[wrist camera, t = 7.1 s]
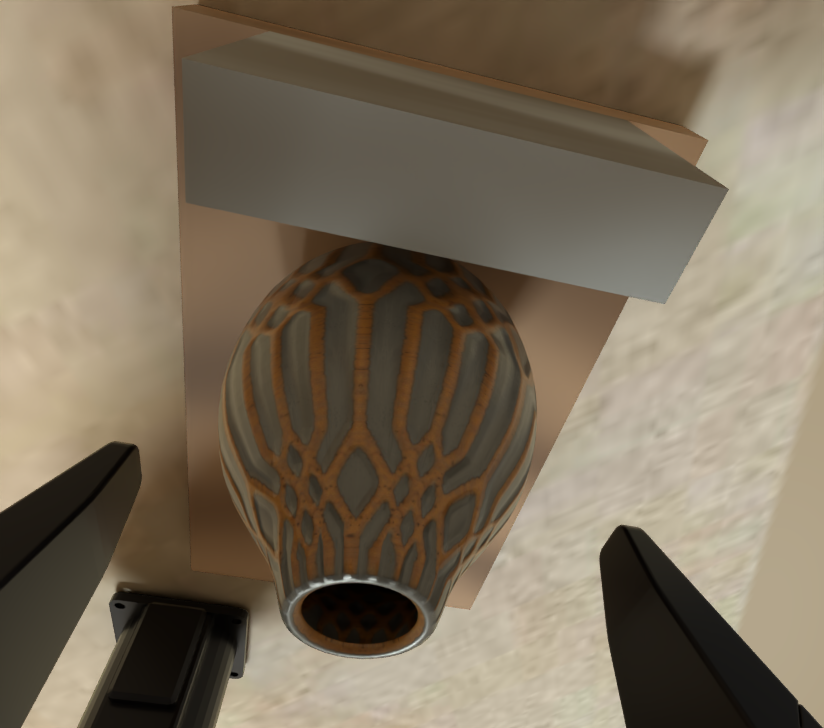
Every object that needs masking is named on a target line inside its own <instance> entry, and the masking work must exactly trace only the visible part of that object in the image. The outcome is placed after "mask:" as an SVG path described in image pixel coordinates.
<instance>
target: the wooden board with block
mask: <svg viewBox="0 0 824 728" xmlns="http://www.w3.org/2000/svg"><path fill="white" fill-rule="evenodd" d="M172 24H173V53H174V83H175V112H176V141H177V170H178V199H179V228H180V257H181V287H182V316H183V345H184V374H185V403H186V432H187V461H188V491H189V520H190V549H191V570H192V571H199V572H207V573H214V574H221V575H228V576H235V577H242V578H249V579H256V580H263V581H270V582H274V579H273V576H272V573H271V570H270V567H269V565H268V563H267V561H266V559H265V557H264V556H263V554H262V553H261V551H260V549H259V548H258V546H257V545H256V543H255V541H254V539H253V538H252V536H251V534H250V532H249V531H248V529H247V527H246V525H245V524H244V522H243V520H242V518H241V516H240V515H239V513H238V511H237V509H236V507H235V505H234V503H233V501H232V498H231V496H230V493H229V491H228V488H227V485H226V482H225V479H224V475H223V470H222V465H221V460H220V454H219V441H218V416H219V403H220V395H221V388H222V384H223V380H224V376H225V372H226V368H227V364H228V361H229V359H230V356H231V354H232V351H233V349H234V347H235V344H236V342H237V340H238V338H239V336H240V334H241V332H242V331H243V329H244V327H245V326H246V324H247V322H248V321H249V319H250V317H251V316H252V314H253V313H254V311H255V310H256V309H257V307H258V306H259V305H260V304H261V302H262V301H263V300H264V298H265V297H266V296H267V294H268V293H269V292H270V291H271V290H272V289H273V288H274V287H275V286H276V285H277V284H278V283H279V282H281V281H282V280H283V279H284V278H285V277H287V276H288V275H289V274H290V273H292V272H293V271H294V270H296V269H297V268H299V267H300V266H302V265H303V264H305V263H307V262H308V261H310V260H312V259H314V258H316V257H318V256H320V255H322V254H325V253H327V252H329V251H332V250H334V249H337V248H341V247H344V246H348V245H352V244H358V243H364V242H374V243H378V244H383V245H388V246H393V247H397V248H402V249H407V250H411V251H416V252H421V253H426V254H430V255H435V256H440V257H444V258H449V259H452V260H453V261H455V262H457V263H458V264H460V265H461V266H463V267H464V268H466V269H467V270H468V271H470V272H471V273H472V274H473V275H475V276H476V277H477V278H478V279H480V280H481V281H482V282H483V283H484V284H485V285H486V286H487V287H488V288H489V289H490V291H491V292H492V293H493V294H494V295H495V296H496V298H497V299H498V300H499V301H500V303H501V304H502V305H503V307H504V308H505V309H506V311H507V312H508V314H509V316H510V317H511V319H512V321H513V323H514V325H515V327H516V329H517V331H518V333H519V335H520V338H521V340H522V342H523V345H524V348H525V350H526V353H527V357H528V360H529V363H530V366H531V370H532V375H533V379H534V384H535V391H536V401H537V428H536V440H535V446H534V452H533V457H532V462H531V466H530V470H529V474H528V477H527V481H526V484H525V486H524V489H523V491H522V494H521V496H520V499H519V501H518V503H517V505H516V507H515V509H514V511H513V512H512V514H511V516H510V518H509V519H508V521H507V522H506V524H505V525H504V527H503V528H502V529H501V530H500V532H499V533H498V534H497V536H496V537H495V538H494V539H493V541H492V542H491V543H490V544H489V545H488V547H487V548H486V549H485V550H484V551H483V553H482V554H481V555H480V556H479V557H478V558H477V560H476V561H475V562H474V563H473V564H472V565H471V566H470V567H469V568H468V570H467V571H466V572H465V573H464V574H463V575H462V576H461V578H460V579H459V580H458V581H457V583H456V585H455V586H454V588H453V590H452V592H451V593H450V596H449V598H448V600H447V603H446V605H445V606H448V607H455V608H462V609H469V610H470V608H471V607H472V605H473V603H474V601H475V599H476V597H477V595H478V593H479V591H480V589H481V587H482V585H483V583H484V581H485V579H486V577H487V575H488V573H489V571H490V569H491V567H492V565H493V563H494V561H495V559H496V557H497V555H498V553H499V551H500V549H501V547H502V545H503V544H504V542H505V540H506V538H507V536H508V534H509V532H510V530H511V528H512V526H513V524H514V522H515V520H516V518H517V516H518V514H519V512H520V510H521V508H522V506H523V504H524V502H525V500H526V498H527V496H528V494H529V492H530V490H531V488H532V486H533V484H534V482H535V481H536V479H537V477H538V475H539V473H540V471H541V469H542V467H543V465H544V463H545V461H546V459H547V457H548V455H549V453H550V451H551V449H552V447H553V445H554V443H555V441H556V439H557V437H558V435H559V433H560V431H561V429H562V427H563V425H564V423H565V421H566V419H567V418H568V416H569V414H570V412H571V410H572V408H573V406H574V404H575V402H576V400H577V398H578V396H579V394H580V392H581V390H582V388H583V386H584V384H585V382H586V380H587V378H588V376H589V374H590V372H591V370H592V368H593V366H594V364H595V362H596V360H597V358H598V356H599V355H600V353H601V351H602V349H603V347H604V345H605V343H606V341H607V339H608V337H609V335H610V333H611V331H612V329H613V327H614V325H615V323H616V321H617V319H618V317H619V315H620V313H621V311H622V309H623V307H624V305H625V303H626V301H627V299H628V297H633V298H638V299H643V300H647V301H652V302H657V303H662V304H665V303H666V301H667V299H668V298H669V296H670V294H671V292H672V291H673V289H674V287H675V285H676V283H677V282H678V280H679V278H680V276H681V274H682V273H683V271H684V269H685V267H686V265H687V264H688V262H689V260H690V258H691V256H692V255H693V253H694V251H695V249H696V247H697V246H698V244H699V242H700V240H701V238H702V237H703V235H704V233H705V231H706V229H707V228H708V226H709V224H710V222H711V220H712V219H713V217H714V215H715V213H716V211H717V210H718V208H719V206H720V204H721V202H722V201H723V199H724V197H725V195H726V193H727V192H728V190H729V189H728V188H726V187H725V186H723V185H722V184H720V183H719V182H717V181H716V180H714V179H713V178H711V177H710V176H708V175H707V174H706V173H704V172H703V171H701V170H700V169H698V168H697V167H695V166H696V164H697V162H698V160H699V158H700V156H701V154H702V152H703V150H704V148H705V146H706V144H707V142H708V140H707V139H705V138H703V137H701V136H699V135H698V134H696V133H694V132H692V131H690V130H689V129H687V128H685V127H683V126H680V125H676V124H672V123H668V122H664V121H660V120H656V119H652V118H648V117H644V116H640V115H636V114H632V113H628V112H624V111H620V110H616V109H612V108H608V107H604V106H600V105H596V104H592V103H588V102H584V101H580V100H576V99H572V98H568V97H564V96H560V95H556V94H552V93H548V92H544V91H540V90H536V89H532V88H528V87H524V86H520V85H516V84H512V83H508V82H504V81H500V80H496V79H492V78H488V77H484V76H480V75H476V74H472V73H468V72H464V71H460V70H456V69H453V68H449V67H445V66H441V65H437V64H433V63H429V62H425V61H421V60H417V59H413V58H409V57H405V56H401V55H397V54H393V53H389V52H385V51H381V50H377V49H373V48H369V47H365V46H361V45H357V44H353V43H349V42H345V41H341V40H337V39H333V38H329V37H325V36H321V35H317V34H313V33H309V32H305V31H301V30H297V29H293V28H289V27H285V26H281V25H277V24H273V23H269V22H265V21H261V20H257V19H253V18H249V17H245V16H241V15H237V14H233V13H229V12H225V11H221V10H217V9H213V8H209V7H205V6H201V5H186V6H175V7H172Z"/></svg>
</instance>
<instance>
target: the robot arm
mask: <svg viewBox="0 0 824 728" xmlns="http://www.w3.org/2000/svg"><path fill="white" fill-rule="evenodd" d="M141 479H142V474H141V464H140V455H139V449H138V447H137V446H136V445H134V444H130V443H123V442H117V441H114V442H111V443H108V444H107V445H105V446H104V447H102V448H100V449H99V450H97V451H96V452H94V453H93V454H91V455H90V456H88V457H86V458H85V459H83V460H82V461H80V462H79V463H77V464H75V465H74V466H72V467H71V468H69V469H68V470H66V471H65V472H63V473H61V474H60V475H58V476H57V477H55V478H54V479H52V480H50V481H49V482H47V483H46V484H44V485H43V486H41V487H39V488H38V489H36V490H35V491H33V492H32V493H30V494H29V495H27V496H25V497H24V498H22V499H21V500H19V501H18V502H16V503H14V504H13V505H11V506H10V507H8V508H7V509H5V510H4V511H2V512H0V728H21V726H22V725H23V723H24V721H25V719H26V717H27V715H28V714H29V712H30V710H31V708H32V706H33V704H34V702H35V701H36V699H37V697H38V695H39V693H40V691H41V690H42V688H43V686H44V684H45V682H46V680H47V679H48V677H49V675H50V673H51V671H52V669H53V667H54V666H55V664H56V662H57V660H58V658H59V656H60V655H61V653H62V651H63V649H64V647H65V645H66V644H67V642H68V640H69V638H70V636H71V634H72V632H73V631H74V629H75V627H76V625H77V623H78V621H79V620H80V618H81V616H82V614H83V612H84V610H85V609H86V607H87V605H88V603H89V601H90V599H91V597H92V596H93V594H94V592H95V590H96V588H97V586H98V585H99V583H100V581H101V579H102V577H103V575H104V573H105V571H106V569H107V567H108V564H109V562H110V560H111V557H112V555H113V553H114V550H115V548H116V545H117V543H118V540H119V538H120V535H121V533H122V530H123V528H124V526H125V523H126V521H127V518H128V516H129V513H130V511H131V508H132V506H133V503H134V501H135V498H136V496H137V493H138V491H139V488H140V485H141ZM600 571H601V581H602V591H603V600H604V610H605V619H606V628H607V636H608V642H609V647H610V653H611V657H612V662H613V667H614V672H615V676H616V681H617V686H618V691H619V696H620V700H621V705H622V710H623V715H624V719H625V724H626V728H822V726H821V725H820V724H819V723H818V722H817V721H816V720H815V719H814V718H813V717H812V715H811V714H810V713H809V712H808V711H807V710H806V709H805V708H804V707H803V706H802V705H801V704H798V700H797V699H796V698H795V697H794V696H793V695H792V694H791V693H790V691H789V690H788V689H787V688H786V687H785V686H784V685H783V684H782V683H781V682H780V680H779V679H778V678H777V677H776V676H775V675H774V674H773V673H772V672H771V670H770V669H769V668H768V667H767V666H766V665H765V664H764V663H763V662H762V661H761V659H760V658H759V657H758V656H757V655H756V654H755V653H754V652H753V651H752V649H751V648H750V647H749V646H748V645H747V644H746V643H745V642H744V641H743V639H742V638H741V637H740V636H739V635H738V634H737V633H736V632H735V631H734V630H733V628H732V627H731V626H730V625H729V624H728V623H727V622H726V621H725V620H724V619H723V617H722V616H721V615H720V614H719V613H718V612H717V611H716V610H715V609H714V608H713V606H712V605H711V604H710V603H709V602H708V601H707V600H706V599H705V598H704V596H703V595H702V594H701V593H700V592H699V591H698V590H697V589H696V588H695V587H694V585H693V584H692V583H691V582H690V581H689V580H688V579H687V578H686V577H685V576H684V574H683V573H682V572H681V571H680V570H679V569H678V568H677V567H676V566H675V564H674V563H673V562H672V561H671V560H670V559H669V558H668V557H667V556H666V555H665V553H664V552H663V551H662V550H661V549H660V548H659V547H658V546H657V545H656V544H655V542H654V541H653V540H652V539H651V538H650V537H649V536H648V535H647V534H646V533H645V532H644V531H643V530H642V529H641V528H638V527H634V526H627V525H620V526H618V527H617V528H616V529H615V530H614V532H613V533H612V535H611V536H610V537H609V539H608V540H607V542H606V543H605V545H604V546H603V548H602V550H601V552H600ZM109 607H110V612H111V617H112V622H113V627H114V632H115V638H116V645H115V648H114V650H113V652H112V654H111V656H110V658H109V660H108V663H107V665H106V667H105V669H104V671H103V673H102V675H101V678H100V680H99V682H98V684H97V686H96V688H95V690H94V693H93V695H92V697H91V699H90V701H89V703H88V705H87V707H86V710H85V712H84V714H83V716H82V718H81V720H80V722H79V725H78V727H77V728H215V726H216V723H217V719H218V716H219V712H220V709H221V705H222V702H223V698H224V694H225V691H226V687H227V684H228V680H229V678H233V679H238V678H241V677H242V676H243V673H244V670H245V661H246V648H247V635H248V622H249V613H248V612H247V611H246V610H244V609H241V608H235V607H227V606H220V605H212V604H205V603H198V602H190V601H183V600H175V599H168V598H160V597H153V596H146V595H138V594H131V593H123V592H118V593H115V594H114V595H113V596H112V598H111V600H110V602H109Z"/></svg>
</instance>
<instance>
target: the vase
mask: <svg viewBox="0 0 824 728" xmlns="http://www.w3.org/2000/svg"><path fill="white" fill-rule="evenodd" d="M536 428H537V401H536V391H535V384H534V379H533V375H532V370H531V366H530V363H529V360H528V357H527V353H526V350H525V348H524V345H523V342H522V340H521V338H520V335H519V333H518V331H517V329H516V327H515V325H514V323H513V321H512V319H511V317H510V316H509V314H508V312H507V311H506V309H505V308H504V307H503V305H502V304H501V303H500V301H499V300H498V299H497V298H496V296H495V295H494V294H493V293H492V292H491V291H490V289H489V288H488V287H487V286H486V285H485V284H484V283H483V282H482V281H481V280H480V279H478V278H477V277H476V276H475V275H473V274H472V273H471V272H470V271H468V270H467V269H466V268H464V267H463V266H461V265H460V264H458V263H457V262H455V261H453V260H452V259H449V258H444V257H440V256H435V255H430V254H426V253H421V252H416V251H411V250H407V249H402V248H397V247H393V246H388V245H383V244H378V243H374V242H364V243H358V244H352V245H348V246H344V247H341V248H337V249H334V250H332V251H329V252H327V253H325V254H322V255H320V256H318V257H316V258H314V259H312V260H310V261H308V262H307V263H305V264H303V265H302V266H300V267H299V268H297V269H296V270H294V271H293V272H292V273H290V274H289V275H288V276H287V277H285V278H284V279H283V280H282V281H281V282H279V283H278V284H277V285H276V286H275V287H274V288H273V289H272V290H271V291H270V292H269V293H268V294H267V296H266V297H265V298H264V300H263V301H262V302H261V304H260V305H259V306H258V307H257V309H256V310H255V311H254V313H253V314H252V316H251V317H250V319H249V321H248V322H247V324H246V326H245V327H244V329H243V331H242V332H241V334H240V336H239V338H238V340H237V342H236V344H235V347H234V349H233V351H232V354H231V356H230V359H229V361H228V364H227V368H226V372H225V376H224V380H223V384H222V388H221V395H220V403H219V416H218V441H219V454H220V460H221V465H222V470H223V475H224V479H225V482H226V485H227V488H228V491H229V493H230V496H231V498H232V501H233V503H234V505H235V507H236V509H237V511H238V513H239V515H240V516H241V518H242V520H243V522H244V524H245V525H246V527H247V529H248V531H249V532H250V534H251V536H252V538H253V539H254V541H255V543H256V545H257V546H258V548H259V549H260V551H261V553H262V554H263V556H264V557H265V559H266V561H267V563H268V565H269V567H270V570H271V573H272V576H273V579H274V584H275V589H276V594H277V599H278V605H279V609H280V613H281V617H282V620H283V622H284V624H285V625H286V627H287V628H288V630H289V631H290V632H291V633H292V634H293V635H294V636H295V637H296V638H298V639H299V640H300V641H302V642H303V643H305V644H307V645H308V646H310V647H312V648H314V649H317V650H319V651H322V652H325V653H328V654H332V655H336V656H341V657H347V658H357V659H374V658H384V657H390V656H394V655H398V654H402V653H404V652H407V651H409V650H412V649H414V648H416V647H417V646H419V645H421V644H422V643H423V642H425V641H426V640H427V639H428V638H429V637H430V636H431V634H432V633H433V632H434V630H435V628H436V626H437V624H438V622H439V620H440V617H441V615H442V612H443V610H444V608H445V605H446V603H447V600H448V598H449V596H450V593H451V592H452V590H453V588H454V586H455V585H456V583H457V581H458V580H459V579H460V578H461V576H462V575H463V574H464V573H465V572H466V571H467V570H468V568H469V567H470V566H471V565H472V564H473V563H474V562H475V561H476V560H477V558H478V557H479V556H480V555H481V554H482V553H483V551H484V550H485V549H486V548H487V547H488V545H489V544H490V543H491V542H492V541H493V539H494V538H495V537H496V536H497V534H498V533H499V532H500V530H501V529H502V528H503V527H504V525H505V524H506V522H507V521H508V519H509V518H510V516H511V514H512V512H513V511H514V509H515V507H516V505H517V503H518V501H519V499H520V496H521V494H522V491H523V489H524V486H525V484H526V481H527V477H528V474H529V470H530V466H531V462H532V457H533V452H534V446H535V440H536Z"/></svg>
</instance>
